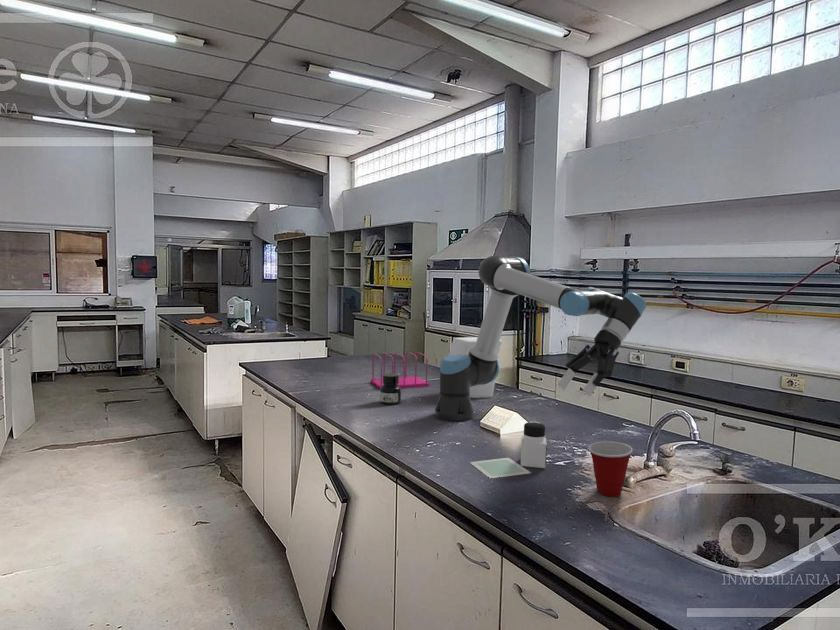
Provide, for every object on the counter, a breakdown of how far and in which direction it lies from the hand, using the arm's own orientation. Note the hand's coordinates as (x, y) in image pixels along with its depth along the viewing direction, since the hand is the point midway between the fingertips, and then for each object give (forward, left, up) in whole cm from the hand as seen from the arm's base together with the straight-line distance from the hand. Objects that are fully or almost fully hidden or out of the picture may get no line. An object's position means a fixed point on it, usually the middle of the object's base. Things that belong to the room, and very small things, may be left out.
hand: (573, 390), depth 163 cm
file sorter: (-94, +68, -21) cm, 119 cm away
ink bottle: (-81, +33, -21) cm, 90 cm away
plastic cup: (+13, -24, -21) cm, 34 cm away
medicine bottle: (-9, -12, -21) cm, 25 cm away
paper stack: (-57, +65, -21) cm, 89 cm away
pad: (-17, -20, -21) cm, 33 cm away
